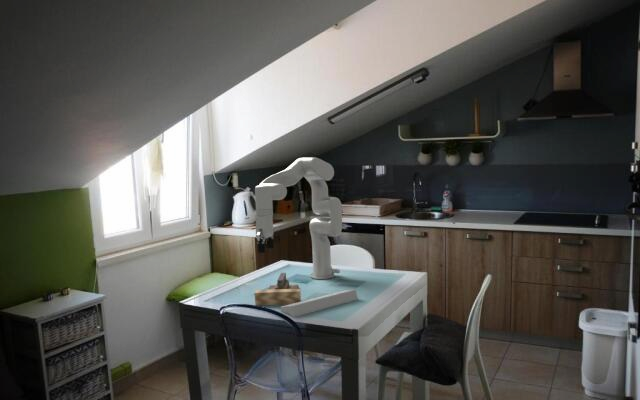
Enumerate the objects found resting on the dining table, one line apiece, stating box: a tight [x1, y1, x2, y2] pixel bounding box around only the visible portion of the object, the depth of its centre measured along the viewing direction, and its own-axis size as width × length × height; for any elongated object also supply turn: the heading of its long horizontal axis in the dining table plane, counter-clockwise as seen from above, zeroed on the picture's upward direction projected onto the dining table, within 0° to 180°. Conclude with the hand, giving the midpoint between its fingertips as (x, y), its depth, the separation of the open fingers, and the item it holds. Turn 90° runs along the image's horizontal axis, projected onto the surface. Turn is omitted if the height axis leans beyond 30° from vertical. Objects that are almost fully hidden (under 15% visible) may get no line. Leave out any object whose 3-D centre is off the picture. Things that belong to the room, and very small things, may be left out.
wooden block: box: [254, 288, 302, 306], centre depth 233 cm, size 20×4×6 cm, turn 87°
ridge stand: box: [267, 272, 300, 290], centre depth 249 cm, size 14×16×8 cm
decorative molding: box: [280, 289, 359, 318], centre depth 228 cm, size 34×5×10 cm
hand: (266, 250), depth 234 cm, fingers open, 9 cm apart
